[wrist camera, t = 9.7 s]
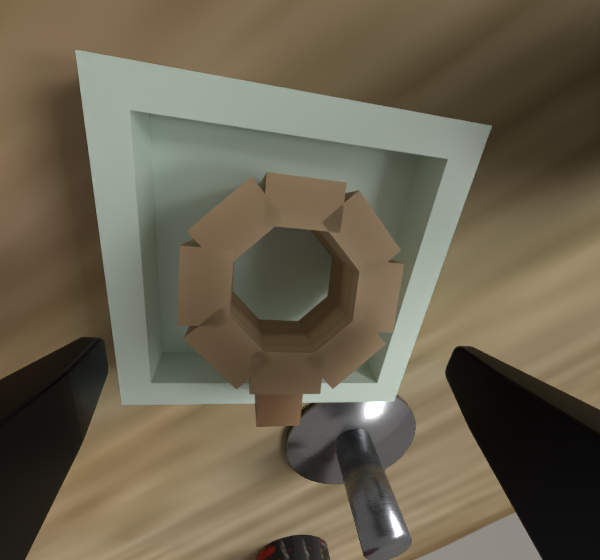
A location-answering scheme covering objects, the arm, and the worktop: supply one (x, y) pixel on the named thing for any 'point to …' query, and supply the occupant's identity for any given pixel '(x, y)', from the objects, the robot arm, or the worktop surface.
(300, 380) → the ring
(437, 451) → the worktop surface
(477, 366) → the robot arm
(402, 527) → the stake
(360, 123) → the tray
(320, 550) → the deodorant
